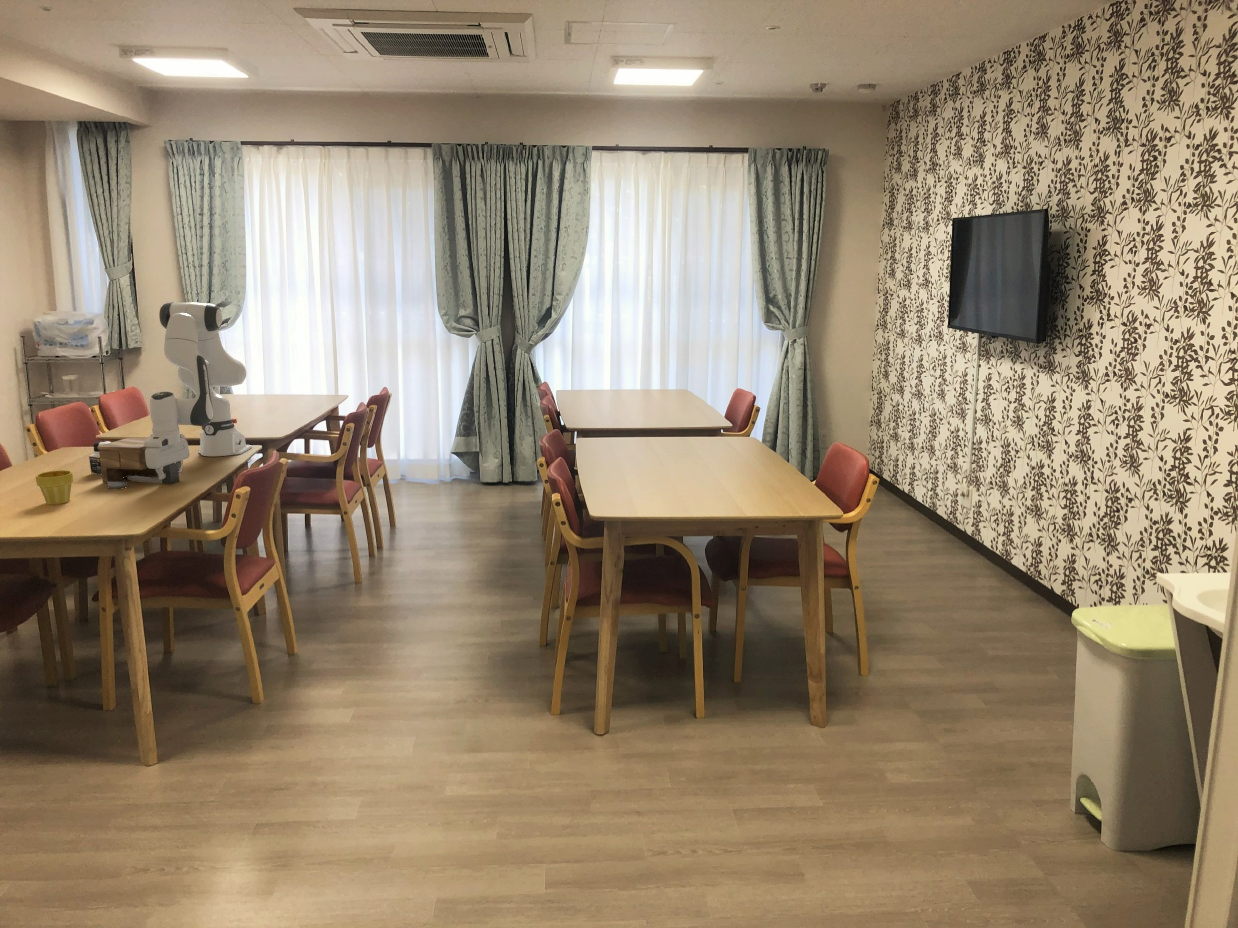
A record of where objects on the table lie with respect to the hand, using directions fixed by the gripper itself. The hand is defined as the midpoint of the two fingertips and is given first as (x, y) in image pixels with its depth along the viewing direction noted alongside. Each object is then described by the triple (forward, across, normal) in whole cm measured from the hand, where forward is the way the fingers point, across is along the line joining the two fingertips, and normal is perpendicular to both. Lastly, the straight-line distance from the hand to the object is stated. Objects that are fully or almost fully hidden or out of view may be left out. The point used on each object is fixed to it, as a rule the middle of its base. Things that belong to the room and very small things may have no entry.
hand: (170, 475), depth 328 cm
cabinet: (+3, -4, -16) cm, 17 cm away
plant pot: (+3, +31, -20) cm, 37 cm away
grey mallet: (+3, -1, -8) cm, 8 cm away
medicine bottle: (+3, -11, -34) cm, 36 cm away
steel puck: (+3, +10, -14) cm, 17 cm away
